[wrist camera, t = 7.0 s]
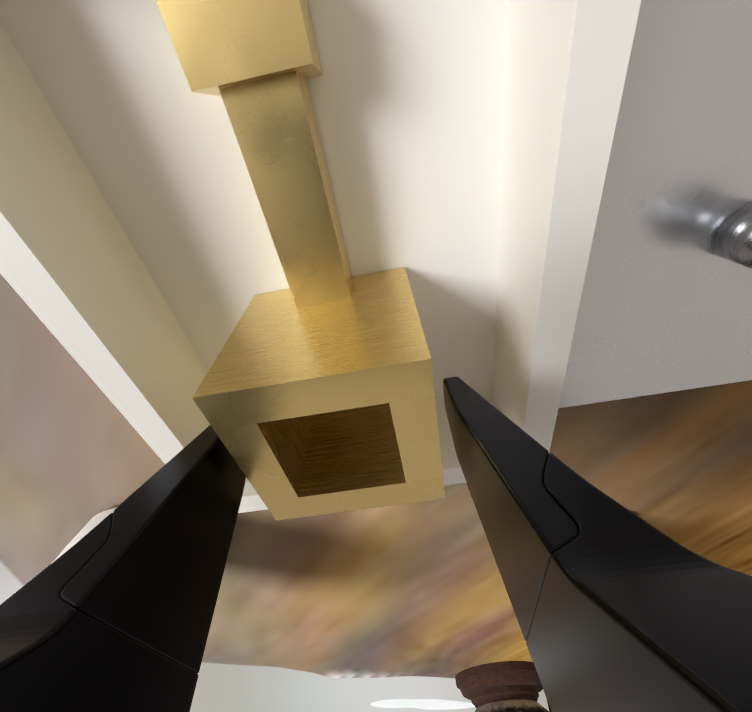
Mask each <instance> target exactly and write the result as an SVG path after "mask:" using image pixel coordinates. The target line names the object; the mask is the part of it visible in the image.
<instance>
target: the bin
mask: <svg viewBox="0 0 752 712" xmlns="http://www.w3.org/2000/svg"><path fill="white" fill-rule="evenodd" d="M640 4H641V0H308V5H309V10H310V14H311V19H312V24H313V29H314V34H315V38H316V43H317V48H318V53H319V58H320V62H321V67H322V72H323V75H321V76H317V77H312V78H308V79H307V82H308V87H309V91H310V95H311V100H312V104H313V108H314V113H315V117H316V121H317V126H318V130H319V134H320V138H321V143H322V147H323V151H324V156H325V160H326V164H327V169H328V173H329V177H330V182H331V186H332V190H333V195H334V199H335V203H336V208H337V212H338V216H339V221H340V225H341V229H342V233H343V238H344V242H345V246H346V251H347V255H348V259H349V264H350V268H351V272H352V277H353V276H359V275H364V274H369V273H375V272H380V271H386V270H391V269H396V268H402V267H405V270H406V274H407V277H408V281H409V284H410V288H411V291H412V294H413V298H414V301H415V305H416V308H417V312H418V315H419V318H420V322H421V325H422V329H423V332H424V336H425V339H426V342H427V346H428V349H429V353H430V356H431V361H432V371H433V381H434V391H435V401H436V411H437V421H438V431H439V441H440V451H441V461H442V471H443V481H444V486H445V485H452V484H460V483H467V482H466V480H465V477H464V474H463V472H462V469H461V466H460V464H459V461H458V458H457V455H456V451H455V447H454V443H453V439H452V434H451V430H450V426H449V422H448V417H447V413H446V409H445V404H444V393H443V379H444V378H449V377H459V378H460V379H461V380H463V381H464V382H465V383H466V384H468V385H469V386H470V387H471V388H472V389H474V390H475V391H476V392H477V393H479V394H480V395H481V396H482V397H483V398H485V399H486V400H487V401H488V402H489V403H491V404H492V405H493V406H494V407H496V408H497V409H498V410H499V411H500V412H502V413H503V414H504V415H505V416H507V417H508V418H509V419H510V420H511V421H513V422H514V423H515V424H516V425H518V426H519V427H520V428H521V429H522V430H524V431H525V432H526V433H527V434H528V435H530V436H531V437H532V438H533V439H535V440H536V441H537V442H538V443H539V444H541V445H542V446H543V447H544V448H546V449H547V450H548V451H549V452H550V447H551V443H552V438H553V433H554V428H555V423H556V418H557V413H558V408H559V403H560V398H561V393H562V388H563V383H564V378H565V374H566V369H567V364H568V359H569V354H570V349H571V344H572V339H573V334H574V329H575V324H576V319H577V314H578V310H579V305H580V300H581V295H582V290H583V285H584V280H585V275H586V270H587V265H588V260H589V255H590V250H591V246H592V241H593V236H594V231H595V226H596V221H597V216H598V211H599V206H600V201H601V196H602V191H603V186H604V181H605V177H606V172H607V167H608V162H609V157H610V152H611V147H612V142H613V137H614V132H615V127H616V122H617V117H618V113H619V108H620V103H621V98H622V93H623V88H624V83H625V78H626V73H627V68H628V63H629V58H630V53H631V49H632V44H633V39H634V34H635V29H636V24H637V19H638V14H639V9H640ZM0 274H1V275H2V276H3V277H4V278H5V279H6V280H7V282H8V283H9V284H10V285H11V286H12V287H13V289H14V290H15V291H16V292H17V293H18V294H19V295H20V297H21V298H22V299H23V300H24V301H25V302H26V304H27V305H28V306H29V307H30V308H31V309H32V311H33V312H34V313H35V314H36V315H37V316H38V317H39V319H40V320H41V321H42V322H43V323H44V324H45V326H46V327H47V328H48V329H49V330H50V331H51V333H52V334H53V335H54V336H55V337H56V338H57V339H58V341H59V342H60V343H61V344H62V345H63V346H64V348H65V349H66V350H67V351H68V352H69V353H70V354H71V356H72V357H73V358H74V359H75V360H76V361H77V363H78V364H79V365H80V366H81V367H82V368H83V370H84V371H85V372H86V373H87V374H88V375H89V376H90V378H91V379H92V380H93V381H94V382H95V383H96V385H97V386H98V387H99V388H100V389H101V390H102V391H103V393H104V394H105V395H106V396H107V397H108V398H109V400H110V401H111V402H112V403H113V404H114V405H115V407H116V408H117V409H118V410H119V411H120V412H121V413H122V415H123V416H124V417H125V418H126V419H127V420H128V422H129V423H130V424H131V425H132V426H133V427H134V429H135V430H136V431H137V432H138V433H139V434H140V435H141V437H142V438H143V439H144V440H145V441H146V442H147V444H148V445H149V446H150V447H151V448H152V449H153V450H154V452H155V453H156V454H157V455H158V456H159V457H160V459H161V460H162V461H163V462H164V463H165V464H167V463H168V462H169V461H170V460H171V459H172V458H173V457H174V456H176V455H177V454H178V453H179V452H180V451H181V450H182V449H183V448H185V447H186V446H187V445H188V444H189V443H190V442H191V441H192V440H194V439H195V438H196V437H197V436H198V435H199V434H200V433H201V432H203V431H204V430H205V429H206V428H207V427H208V426H209V425H210V423H209V422H208V421H207V419H206V418H205V416H204V415H203V413H202V412H201V410H200V409H199V407H198V406H197V404H196V403H195V402H194V400H193V399H192V397H193V396H194V394H195V392H196V391H197V389H198V387H199V386H200V384H201V382H202V381H203V379H204V378H205V376H206V374H207V373H208V371H209V369H210V368H211V366H212V364H213V363H214V361H215V359H216V358H217V356H218V355H219V353H220V351H221V350H222V348H223V346H224V345H225V343H226V341H227V340H228V338H229V336H230V335H231V333H232V332H233V330H234V328H235V327H236V325H237V323H238V322H239V320H240V318H241V317H242V315H243V313H244V312H245V310H246V309H247V307H248V305H249V304H250V302H251V300H252V299H253V297H254V295H256V294H261V293H267V292H272V291H278V290H283V289H288V288H290V287H289V285H288V282H287V279H286V276H285V273H284V271H283V268H282V265H281V262H280V259H279V256H278V254H277V251H276V248H275V245H274V242H273V240H272V237H271V234H270V231H269V228H268V226H267V223H266V220H265V217H264V214H263V212H262V209H261V206H260V203H259V200H258V197H257V195H256V192H255V189H254V186H253V183H252V181H251V178H250V175H249V172H248V169H247V167H246V164H245V161H244V158H243V155H242V153H241V150H240V147H239V144H238V141H237V139H236V136H235V133H234V130H233V127H232V124H231V122H230V119H229V116H228V113H227V110H226V108H225V105H224V102H223V99H222V97H220V96H214V95H208V94H202V93H196V92H192V91H191V89H190V86H189V84H188V81H187V79H186V76H185V74H184V71H183V69H182V66H181V63H180V61H179V58H178V56H177V53H176V51H175V48H174V46H173V43H172V41H171V38H170V36H169V33H168V31H167V28H166V25H165V23H164V20H163V18H162V15H161V13H160V10H159V8H158V5H157V3H156V0H0ZM548 454H549V453H548ZM266 509H268V508H267V507H266V505H265V504H264V502H263V501H262V499H261V498H260V496H259V495H258V493H257V492H256V491H255V489H254V488H253V486H252V485H251V483H250V482H249V480H248V479H247V477H246V481H245V486H244V491H243V495H242V499H241V503H240V507H239V511H238V513H243V512H251V511H258V510H266Z"/></svg>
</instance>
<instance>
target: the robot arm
mask: <svg viewBox="0 0 752 712" xmlns="http://www.w3.org/2000/svg"><path fill="white" fill-rule="evenodd" d="M443 393H444V404H445V409H446V413H447V417H448V422H449V426H450V430H451V434H452V439H453V443H454V447H455V451H456V455H457V458H458V461H459V464H460V466H461V469H462V472H463V474H464V477H465V480H466V482H467V485H468V488H469V491H470V493H471V496H472V499H473V501H474V504H475V507H476V509H477V512H478V515H479V517H480V520H481V523H482V525H483V528H484V531H485V533H486V536H487V539H488V542H489V544H490V547H491V550H492V552H493V555H494V558H495V560H496V563H497V566H498V568H499V571H500V574H501V576H502V579H503V582H504V585H505V587H506V590H507V593H508V595H509V598H510V601H511V603H512V606H513V609H514V611H515V614H516V617H517V619H518V622H519V625H520V627H521V630H522V633H523V636H524V638H525V640H526V641H527V642H526V644H527V647H528V649H529V652H530V655H531V657H532V660H533V663H534V665H535V668H536V671H537V673H538V676H539V679H540V681H541V684H542V687H543V689H544V692H545V695H546V698H547V702H548V707H549V711H550V712H752V576H750V575H747V574H744V573H741V572H738V571H735V570H732V569H729V568H726V567H723V566H721V565H718V564H716V563H714V562H711V561H709V560H707V559H705V558H703V557H701V556H699V555H697V554H695V553H693V552H692V551H690V550H688V549H686V548H685V547H683V546H681V545H680V544H678V543H677V542H675V541H673V540H672V539H670V538H669V537H667V536H666V535H665V534H663V533H662V532H660V531H659V530H657V529H656V528H654V527H653V526H651V525H650V524H648V523H647V522H645V521H644V520H642V519H641V518H640V517H638V516H637V515H635V514H634V513H632V512H631V511H629V510H628V509H626V508H625V507H623V506H622V505H620V504H619V503H617V502H616V501H615V500H613V499H612V498H610V497H609V496H607V495H606V494H604V493H603V492H602V491H600V490H599V489H597V488H596V487H595V486H593V485H592V484H590V483H589V482H587V481H586V480H585V479H583V478H582V477H581V476H579V475H578V474H577V473H576V472H574V471H573V470H572V469H570V468H569V467H568V466H567V465H565V464H564V463H563V462H562V461H560V460H559V459H558V458H557V457H555V456H554V455H553V454H552V453H549V451H548V450H547V449H546V448H544V447H543V446H542V445H541V444H539V443H538V442H537V441H536V440H535V439H533V438H532V437H531V436H530V435H528V434H527V433H526V432H525V431H524V430H522V429H521V428H520V427H519V426H518V425H516V424H515V423H514V422H513V421H511V420H510V419H509V418H508V417H507V416H505V415H504V414H503V413H502V412H500V411H499V410H498V409H497V408H496V407H494V406H493V405H492V404H491V403H489V402H488V401H487V400H486V399H485V398H483V397H482V396H481V395H480V394H479V393H477V392H476V391H475V390H474V389H472V388H471V387H470V386H469V385H468V384H466V383H465V382H464V381H463V380H461V379H460V378H459V377H449V378H444V379H443ZM548 453H549V454H548ZM245 481H246V476H245V475H244V473H243V472H242V470H241V469H240V467H239V466H238V464H237V463H236V461H235V460H234V458H233V457H232V456H231V454H230V453H229V451H228V450H227V448H226V447H225V445H224V444H223V442H222V441H221V439H220V438H219V437H218V435H217V434H216V432H215V431H214V429H213V428H212V426H211V425H209V426H208V427H207V428H206V429H205V430H204V431H203V432H201V433H200V434H199V435H198V436H197V437H196V438H195V439H194V440H192V441H191V442H190V443H189V444H188V445H187V446H186V447H185V448H183V449H182V450H181V451H180V452H179V453H178V454H177V455H176V456H174V457H173V458H172V459H171V460H170V461H169V462H168V463H167V464H165V465H164V466H163V467H162V468H161V469H160V470H159V471H158V472H156V473H155V474H154V475H153V476H152V477H151V478H150V479H148V480H147V481H146V482H145V483H144V484H143V485H142V486H141V487H139V488H138V489H137V490H136V491H135V492H134V493H133V494H132V495H130V496H129V497H128V498H127V499H126V500H125V501H124V502H123V503H121V504H120V505H119V506H118V507H117V508H116V509H115V510H114V513H110V514H109V515H108V516H107V517H106V518H105V519H103V520H102V521H101V522H100V523H99V524H98V525H97V526H96V527H94V528H93V529H92V530H91V531H90V532H89V533H87V534H86V535H85V536H84V537H83V538H82V539H81V540H79V541H78V542H77V543H76V544H75V545H74V546H72V547H71V548H70V549H69V550H68V551H66V552H65V553H64V554H63V555H61V556H60V557H59V558H58V559H57V560H55V561H54V562H53V563H52V564H50V565H49V566H48V567H47V568H46V569H44V570H43V571H42V572H41V573H39V574H38V575H37V576H36V577H34V578H33V579H32V580H31V581H29V582H28V583H27V584H26V585H24V586H23V587H22V588H21V589H20V590H18V591H17V592H16V593H14V594H13V595H12V596H11V597H10V598H8V599H7V600H6V601H5V602H3V603H2V604H1V605H0V712H189V711H190V707H191V703H192V699H193V695H194V691H195V687H196V683H197V679H198V674H197V673H198V672H199V670H200V665H201V662H202V658H203V654H204V650H205V645H206V641H207V637H208V633H209V629H210V625H211V621H212V617H213V613H214V609H215V605H216V601H217V597H218V593H219V589H220V584H221V580H222V576H223V572H224V568H225V564H226V560H227V556H228V552H229V548H230V544H231V540H232V536H233V532H234V528H235V524H236V519H237V515H238V511H239V507H240V503H241V499H242V495H243V491H244V486H245Z"/></svg>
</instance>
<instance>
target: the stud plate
mask: <svg viewBox="0 0 752 712" xmlns="http://www.w3.org/2000/svg"><path fill="white" fill-rule="evenodd" d="M749 380H752V0H641V4H640V9H639V14H638V19H637V24H636V29H635V34H634V39H633V44H632V49H631V53H630V58H629V63H628V68H627V73H626V78H625V83H624V88H623V93H622V98H621V103H620V108H619V113H618V117H617V122H616V127H615V132H614V137H613V142H612V147H611V152H610V157H609V162H608V167H607V172H606V177H605V181H604V186H603V191H602V196H601V201H600V206H599V211H598V216H597V221H596V226H595V231H594V236H593V241H592V246H591V250H590V255H589V260H588V265H587V270H586V275H585V280H584V285H583V290H582V295H581V300H580V305H579V310H578V314H577V319H576V324H575V329H574V334H573V339H572V344H571V349H570V354H569V359H568V364H567V369H566V374H565V378H564V383H563V388H562V393H561V398H560V403H559V408H564V407H571V406H578V405H585V404H592V403H598V402H605V401H612V400H619V399H626V398H632V397H639V396H646V395H653V394H660V393H667V392H673V391H680V390H687V389H694V388H701V387H708V386H714V385H721V384H728V383H735V382H742V381H749Z"/></svg>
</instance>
